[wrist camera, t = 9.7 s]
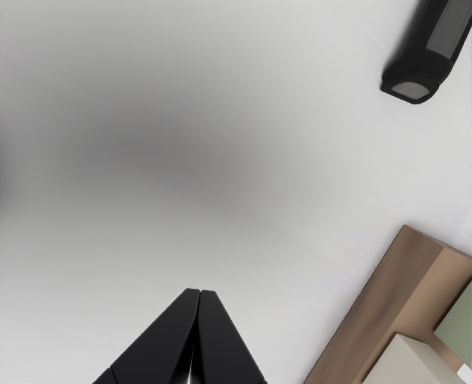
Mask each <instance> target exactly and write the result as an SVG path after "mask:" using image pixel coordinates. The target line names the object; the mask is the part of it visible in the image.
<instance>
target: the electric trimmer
mask: <svg viewBox="0 0 472 384" xmlns="http://www.w3.org/2000/svg"><path fill="white" fill-rule="evenodd" d="M471 27H472V0H428V1H427V3H426V6H425V8H424V10H423V12H422V14H421V16H420V19H419V21H418V23H417V25H416V27H415V29H414V32H413V34H412V36H411V38H410V40H409V42H408V44H407V47H406V49H405V51H404V53H403V55H402V56H401V57H400V58H399V59H398V60H397V61H396V62H395V63H394V64H393V65H392V66H391V67H390V68H389V69H388V70H387V71H386V72H385V74H384V75H383V77H382V80H383V82H384V84H383V86H382V89H381V91H383V92H385V93H388V94H390V95H392V96H395V97H397V98H399V99H402V100H404V101H406V102H409V103H411V104H420V103H423V102H425V101H427V100H428V99H430V98H431V97H432V96H433V95H434V94H435V92H436V91H437V90H438V88H439V86H440V85H441V84H442V83H443V81H444V80H445V79H446V78H447V77H448V75H449V74H450V72H451V70H452V68H453V66H454V64H455V62H456V60H457V58H458V56H459V54H460V51H461V49H462V47H463V45H464V42H465V40H466V38H467V36H468V33H469V31H470V29H471Z"/></svg>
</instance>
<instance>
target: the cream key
mask: <svg viewBox="0 0 472 384" xmlns="http://www.w3.org/2000/svg"><path fill="white" fill-rule="evenodd" d="M362 384H466V383H465V382H464V381H463V380H462V379H461V378H460V377H459V376H458V375H457V374H456V373H455V372H454V371H453V370H452V369H451V368H450V367H449V366H448V365H447V363H446V362H445V361H444V360H443V359H442V358H441V357H440V356H439V355H438V354H437V353H436V352H435V351H434V350H433V349H432V348H431V347H430V346H429V345H428V344H425V343H422V342H419V341H417V340H414V339H411V338H408V337H406V336H403V335H400V334H396V335H395V337H394V338H393V340H392V341H391V343H390V344H389V346H388V347H387V349H386V350H385V351H384V353H383V354H382V356H381V357H380V359H379V360H378V362H377V363H376V364H375V366H374V367H373V369H372V370H371V372H370V373H369V375H368V376H367V378H366V379H365V380H364V382H363V383H362Z"/></svg>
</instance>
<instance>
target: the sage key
mask: <svg viewBox="0 0 472 384" xmlns="http://www.w3.org/2000/svg"><path fill="white" fill-rule="evenodd" d="M434 334H435V335H436V336H437V337H438V338H439V339H440V340H441V341H442V342H443V343H444V344H445V345H446V346H447V347H448V348H450V349H451V350H452V351H453V352H454V353H455V354H456V355H457V356H458V357H459V358H460V359H461V360H462V361H463V362H464V363H465V364H466V365H467V366H468V367H469V368H470V369H471V370H472V281H471V282H470V284H469V285H468V286H467V288H466V289H465V290H464V292H463V293H462V295H461V296H460V297H459V299H458V300H457V302H456V303H455V304H454V306H453V307H452V308H451V310H450V311H449V313H448V314H447V315H446V317H445V318H444V320H443V321H442V322H441V324H440V325H439V326H438V328H437V329H436V331H435V332H434Z"/></svg>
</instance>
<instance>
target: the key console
mask: <svg viewBox="0 0 472 384" xmlns="http://www.w3.org/2000/svg"><path fill="white" fill-rule="evenodd" d="M471 281H472V256H470V255H468V254H466V253H463V252H461V251H459V250H457V249H455V248H453V247H451V246H449V245H447V244H444V243H442V242H440V241H438V240H436V239H434V238H432V237H430V236H427V235H425V234H423V233H421V232H419V231H417V230H415V229H413V228H411V227H408V226H406V225H404V226H403V227H402V229H401V231H400V232H399V234H398V235H397V237H396V238H395V240H394V242H393V243H392V245H391V246H390V248H389V249H388V251H387V253H386V254H385V256H384V257H383V259H382V260H381V262H380V264H379V265H378V267H377V268H376V270H375V271H374V273H373V275H372V276H371V278H370V279H369V281H368V283H367V284H366V286H365V287H364V289H363V290H362V292H361V294H360V295H359V297H358V298H357V300H356V301H355V303H354V305H353V306H352V308H351V309H350V311H349V312H348V314H347V316H346V317H345V319H344V320H343V322H342V323H341V325H340V327H339V328H338V330H337V331H336V333H335V334H334V336H333V338H332V339H331V341H330V342H329V344H328V346H327V347H326V349H325V350H324V352H323V353H322V355H321V357H320V358H319V360H318V361H317V363H316V364H315V366H314V368H313V369H312V371H311V372H310V374H309V375H308V377H307V379H306V380H305V382H304V383H303V384H362V383H363V382H364V380H365V379H366V378H367V376H368V375H369V373H370V372H371V370H372V369H373V367H374V366H375V364H376V363H377V362H378V360H379V359H380V357H381V356H382V354H383V353H384V351H385V350H386V349H387V347H388V346H389V344H390V343H391V341H392V340H393V338H394V337H395V335H396V334H400V335H403V336H406V337H408V338H411V339H414V340H417V341H419V342H422V343H425V344H428V345H429V346H430V347H431V348H432V349H433V350H434V351H435V352H436V353H437V354H438V355H439V356H440V357H441V358H442V359H443V360H444V361H445V362H446V363H447V365H448V366H449V367H450V368H451V369H452V370H453V371H454V372H455V373H457V372H458V370H459V369H460V368H461V366H462V365H463V364H464V362H463V361H462V360H461V359H460V358H459V357H458V356H457V355H456V354H455V353H454V352H453V351H452V350H451V349H450V348H448V347H447V346H446V345H445V344H444V343H443V342H442V341H441V340H440V339H439V338H438V337H437V336H436V335H435V334H434V332H435V331H436V329H437V328H438V326H439V325H440V324H441V322H442V321H443V320H444V318H445V317H446V315H447V314H448V313H449V311H450V310H451V308H452V307H453V306H454V304H455V303H456V302H457V300H458V299H459V297H460V296H461V295H462V293H463V292H464V290H465V289H466V288H467V286H468V285H469V284H470V282H471Z"/></svg>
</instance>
